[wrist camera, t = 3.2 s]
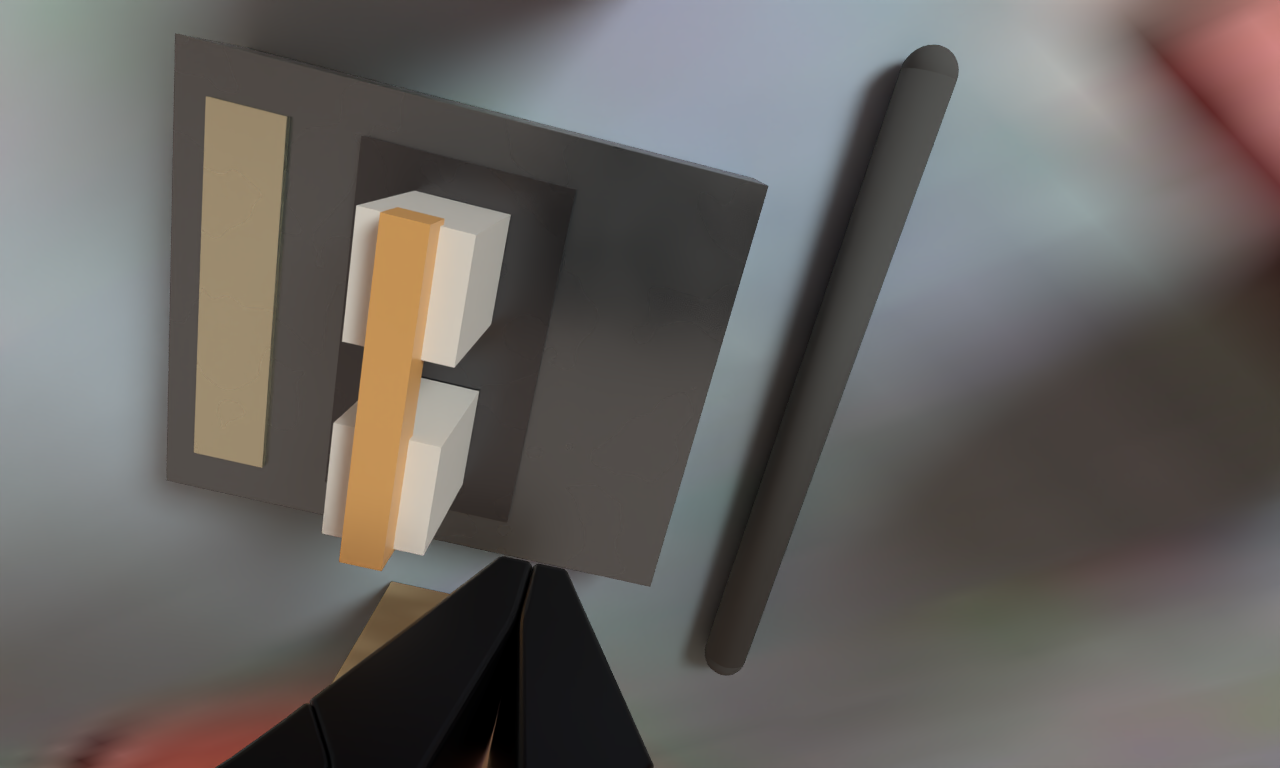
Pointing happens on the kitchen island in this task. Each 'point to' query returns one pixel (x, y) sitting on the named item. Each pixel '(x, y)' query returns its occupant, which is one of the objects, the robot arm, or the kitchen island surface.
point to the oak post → (393, 623)
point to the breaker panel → (522, 318)
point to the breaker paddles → (409, 369)
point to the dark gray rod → (834, 344)
